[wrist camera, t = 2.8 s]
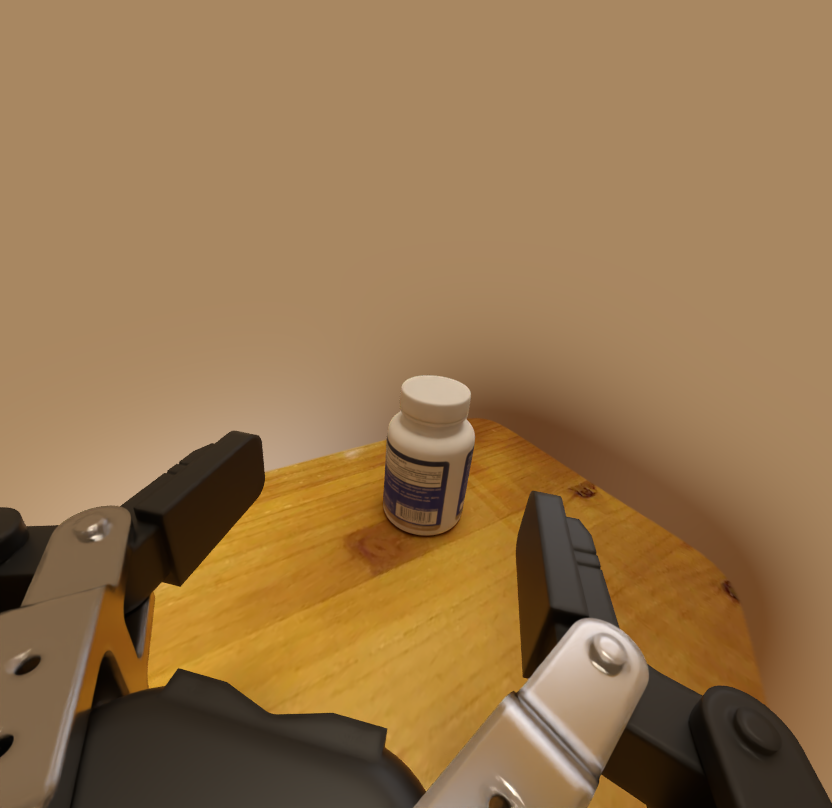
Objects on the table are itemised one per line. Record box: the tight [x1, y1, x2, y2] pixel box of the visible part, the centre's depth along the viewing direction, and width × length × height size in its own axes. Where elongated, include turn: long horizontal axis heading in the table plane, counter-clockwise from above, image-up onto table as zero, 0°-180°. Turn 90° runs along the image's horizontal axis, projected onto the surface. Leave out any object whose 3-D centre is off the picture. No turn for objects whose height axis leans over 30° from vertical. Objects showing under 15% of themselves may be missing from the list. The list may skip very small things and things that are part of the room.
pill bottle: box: [383, 376, 475, 535], centre depth 24 cm, size 5×5×9 cm
